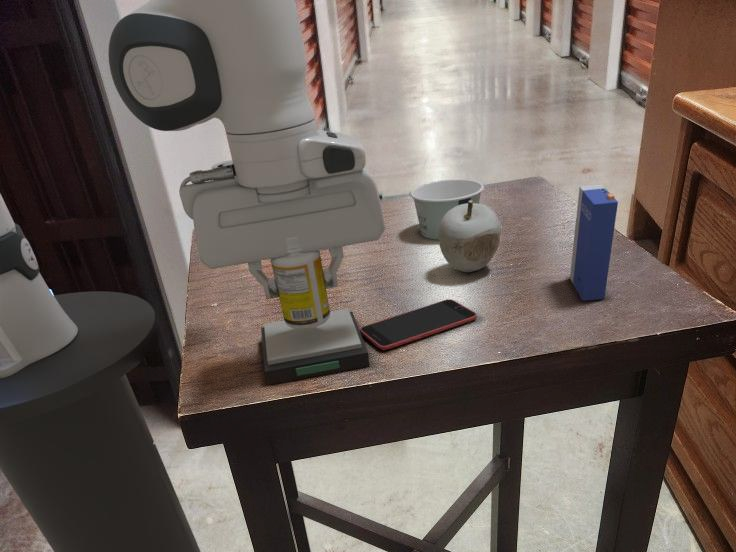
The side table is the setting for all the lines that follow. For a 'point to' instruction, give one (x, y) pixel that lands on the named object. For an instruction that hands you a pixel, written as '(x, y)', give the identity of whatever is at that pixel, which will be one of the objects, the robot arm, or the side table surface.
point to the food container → (442, 201)
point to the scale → (313, 348)
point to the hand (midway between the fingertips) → (302, 291)
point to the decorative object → (469, 236)
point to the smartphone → (417, 324)
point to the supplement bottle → (301, 287)
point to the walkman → (593, 241)
